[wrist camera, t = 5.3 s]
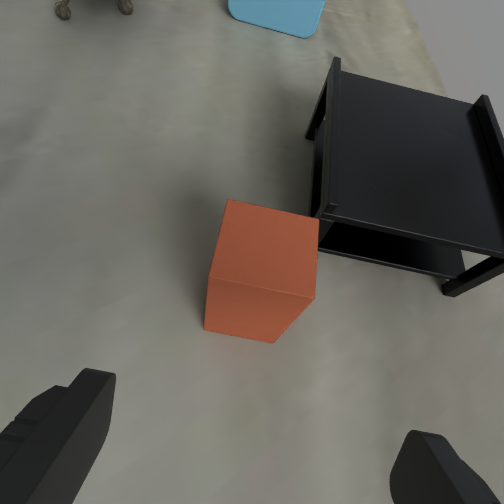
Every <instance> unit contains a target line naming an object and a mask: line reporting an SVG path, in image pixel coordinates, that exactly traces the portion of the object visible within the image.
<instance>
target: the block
mask: <svg viewBox="0 0 504 504" xmlns="http://www.w3.org/2000/svg"><path fill="white" fill-rule="evenodd" d="M318 232H319V219H316V218H311V217H307V216H302V215H298V214H293V213H289V212H285V211H280V210H276V209H271V208H267V207H262V206H258V205H253V204H249V203H244V202H240V201H235V200H231V199H227V202H226V206H225V210H224V214H223V218H222V222H221V226H220V230H219V235H218V239H217V243H216V247H215V251H214V255H213V259H212V263H211V267H210V271H209V275H208V285H207V296H206V307H205V318H204V330H207V331H212V332H217V333H222V334H228V335H233V336H238V337H243V338H248V339H253V340H258V341H263V342H268V343H274V342H275V341H276V340H277V339H278V338H279V336H280V335H281V334H282V333H283V332H284V331H285V330H286V329H287V328H288V327H289V326H290V325H291V324H292V322H293V321H294V320H295V319H296V318H297V317H298V316H299V315H300V314H301V313H302V312H303V311H304V310H305V308H306V307H307V306H308V305H309V304H310V303H311V302H312V301H313V300H314V299H315V285H316V267H317V250H318Z"/></svg>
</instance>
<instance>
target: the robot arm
mask: <svg viewBox="0 0 504 504" xmlns="http://www.w3.org/2000/svg"><path fill="white" fill-rule="evenodd" d="M115 383H116V374H115V373H111V372H106V371H100V370H95V369H89V368H85V369H83V370H82V371H81V372H80V373H79V375H78V376H77V377H76V378H75V379H74V381H73V382H72V383H71V384H70V385H69V387H62V386H57V385H55V386H53V387H52V388H50V389H48V390H47V391H45V392H43V393H42V394H40V395H38V396H37V397H35V398H33V399H32V400H31V401H30V402H29V403H28V404H27V405H26V406H25V408H24V409H23V410H22V411H21V412H20V413H19V414H18V415H17V416H16V417H15V420H14V421H11V422H10V424H9V425H8V426H7V427H6V428H5V429H4V430H3V431H2V432H1V433H0V504H72V503H73V501H74V499H75V497H76V495H77V493H78V492H79V490H80V488H81V486H82V484H83V482H84V480H85V478H86V476H87V475H88V473H89V471H90V469H91V467H92V465H93V463H94V461H95V459H96V458H97V456H98V454H99V452H100V450H101V448H102V446H103V444H104V441H105V439H106V436H107V433H108V430H109V426H110V422H111V415H112V407H113V399H114V391H115ZM390 492H391V496H392V499H393V502H394V504H501V503H500V501H499V500H498V499H497V497H496V496H495V495H494V493H493V492H492V491H491V489H490V488H489V487H488V485H487V484H486V482H485V481H484V480H483V479H482V478H481V477H480V476H479V475H478V474H477V473H476V472H474V471H473V470H472V469H471V468H470V467H469V466H468V465H467V464H466V463H465V462H464V461H462V460H461V459H460V458H459V456H458V455H457V453H456V452H455V451H454V449H453V448H452V446H451V445H450V444H449V442H448V441H447V440H446V438H444V437H443V436H442V435H438V434H433V433H428V432H422V431H417V430H411V431H410V432H409V433H408V434H407V436H406V438H405V440H404V443H403V445H402V447H401V449H400V452H399V454H398V456H397V459H396V461H395V463H394V466H393V468H392V470H391V474H390Z"/></svg>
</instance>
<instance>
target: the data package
mask: <svg viewBox="0 0 504 504" xmlns="http://www.w3.org/2000/svg"><path fill="white" fill-rule="evenodd" d="M324 3H325V0H228V9H229V11H230V13H231V15H232V16H233V17H234V18H235V19H237V20H240V21H243V22H247V23H250V24H254V25H258V26H261V27H265V28H268V29H272V30H275V31H279V32H283V33H286V34H290V35H293V36H297V37H300V38H307V37H310V36H311V35H312V34H313V33H314V32H315V31H316V29H317V26H318V22H319V19H320V16H321V13H322V9H323V6H324Z"/></svg>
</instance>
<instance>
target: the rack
mask: <svg viewBox="0 0 504 504" xmlns="http://www.w3.org/2000/svg"><path fill="white" fill-rule="evenodd" d="M324 116H325V121H324V120H323V118H324ZM305 138H306V139H310V140H314V150H313V162H312V175H311V188H310V201H309V214H308V217H311V218H316V219H319V232H318V250H317V251H319V252H324V253H329V254H333V255H338V256H343V257H347V258H352V259H356V260H361V261H366V262H370V263H375V264H380V265H384V266H389V267H393V268H398V269H403V270H407V271H412V272H417V273H421V274H426V275H430V276H435V277H440V278H444V279H449V281H447V282H446V283H444V284H442V289H443V295H446V296H450V297H456V296H458V295H460V294H462V293H464V292H466V291H468V290H470V289H472V288H474V287H476V286H478V285H480V284H482V283H484V282H486V281H488V280H490V279H492V278H494V277H496V276H498V275H500V274H502V273H504V138H503V135H502V133H501V130H500V127H499V124H498V122H497V119H496V116H495V114H494V111H493V108H492V105H491V102H490V100H489V97H488V96H487V95H481V96H480V98H479V99H478V100H477V101H476V102H475V103H474V104H470V103H466V102H462V101H458V100H455V99H451V98H447V97H443V96H439V95H435V94H431V93H427V92H423V91H419V90H415V89H411V88H407V87H403V86H399V85H395V84H391V83H387V82H384V81H380V80H376V79H372V78H368V77H364V76H360V75H356V74H352V73H348V72H344V71H341V58H338V57H334V59H333V61H332V64H331V67H330V69H329V72H328V75H327V77H326V80H325V83H324V85H323V88H322V91H321V93H320V96H319V98H318V101H317V104H316V106H315V109H314V112H313V114H312V117H311V120H310V122H309V125H308V128H307V130H306V136H305ZM461 250H465V251H470V252H474V253H479V254H483V255H488V256H491V257H489V258H487V259H485V260H484V261H482V262H480V263H478V264H477V265H475V266H473V267H472V268H470V269H468V270H466V271H465V267H464V262H463V258H462V253H461Z"/></svg>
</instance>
